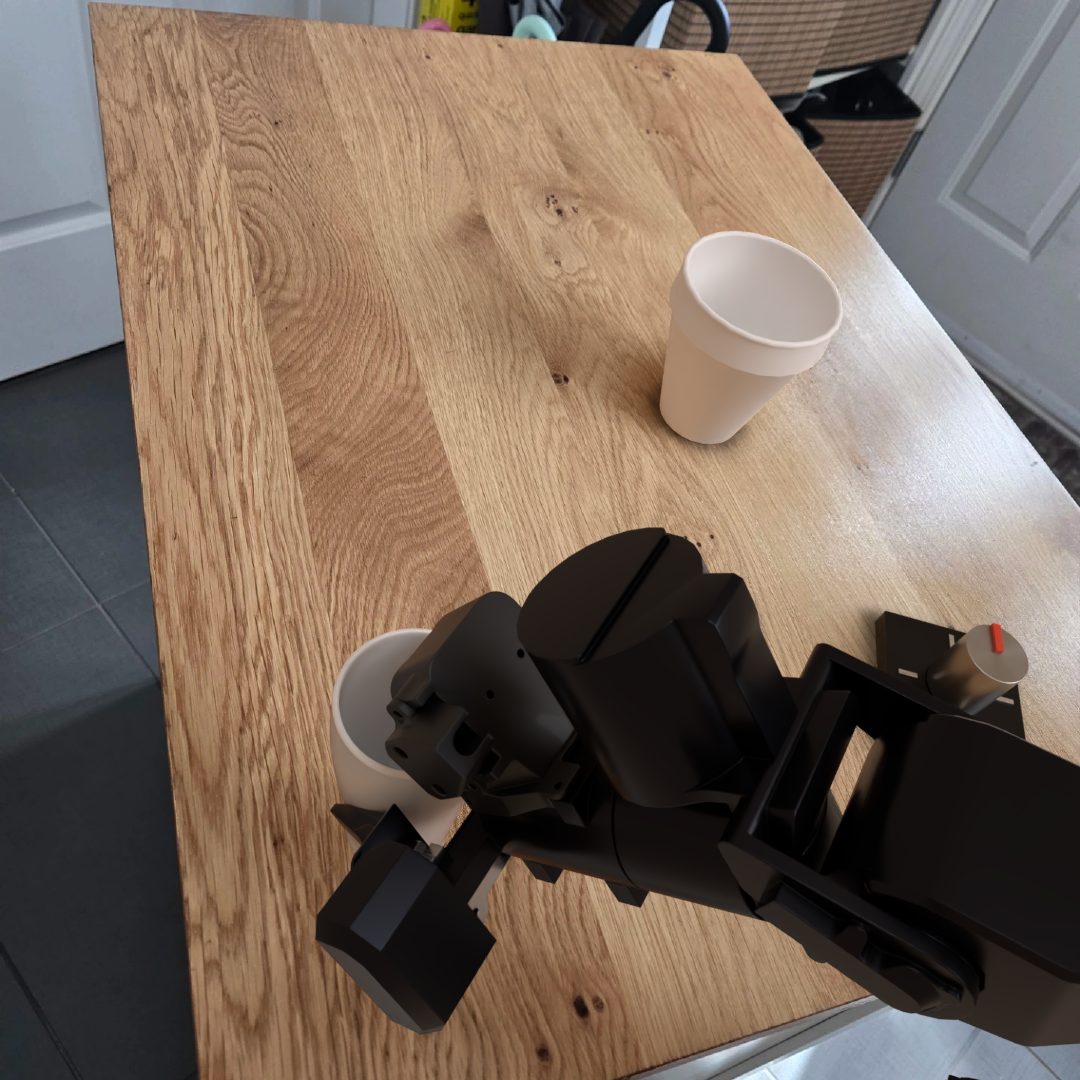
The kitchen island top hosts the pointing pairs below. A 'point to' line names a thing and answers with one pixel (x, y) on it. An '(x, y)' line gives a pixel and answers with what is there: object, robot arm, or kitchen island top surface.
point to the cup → (741, 330)
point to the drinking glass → (380, 739)
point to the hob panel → (918, 645)
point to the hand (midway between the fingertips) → (383, 755)
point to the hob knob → (978, 669)
